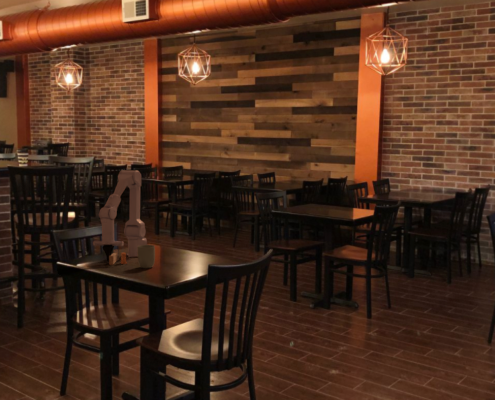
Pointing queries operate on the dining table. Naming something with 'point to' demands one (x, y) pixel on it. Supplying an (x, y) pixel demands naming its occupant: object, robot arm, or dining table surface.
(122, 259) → the latch stile
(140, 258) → the cup
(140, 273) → the dining table surface
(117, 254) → the pivot post
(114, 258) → the gate rail
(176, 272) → the dining table surface
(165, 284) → the dining table surface
